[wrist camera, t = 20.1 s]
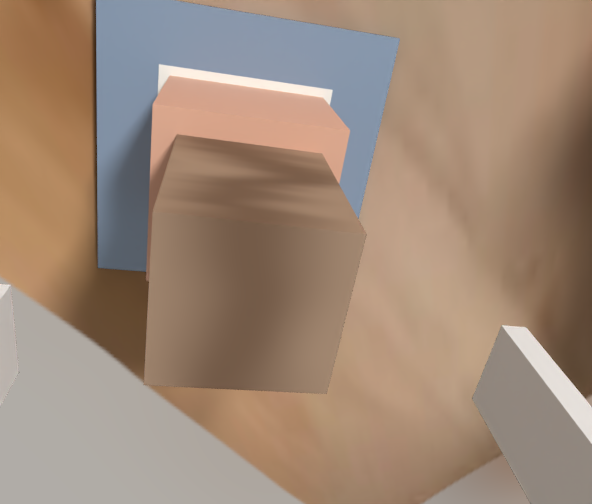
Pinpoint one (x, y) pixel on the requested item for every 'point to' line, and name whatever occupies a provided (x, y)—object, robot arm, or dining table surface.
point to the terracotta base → (240, 124)
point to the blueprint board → (224, 69)
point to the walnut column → (248, 269)
